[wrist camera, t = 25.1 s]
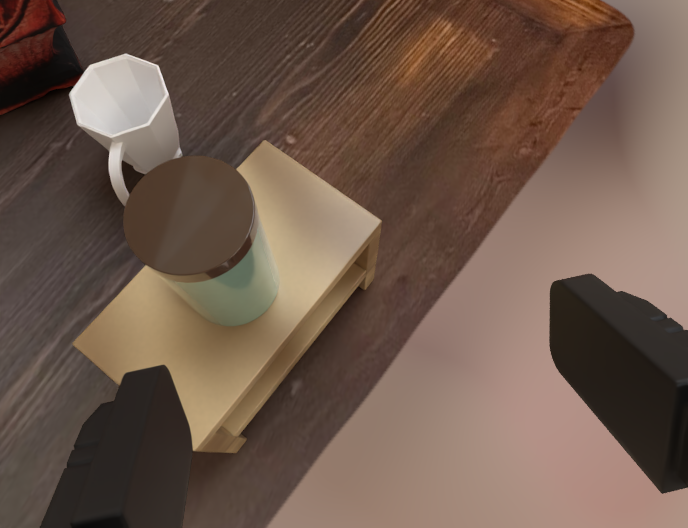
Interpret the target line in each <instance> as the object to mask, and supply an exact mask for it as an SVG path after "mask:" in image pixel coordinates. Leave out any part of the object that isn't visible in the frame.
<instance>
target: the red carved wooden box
mask: <svg viewBox="0 0 688 528" xmlns="http://www.w3.org/2000/svg"><path fill="white" fill-rule="evenodd" d="M65 22H66V19H65V16H64V14H63V12H62V10H61V8H60V6H59V4H58V2H57V0H0V115H2V114H5V113H7V112H9V111H11V110H14V109H16V108H18V107H21V106H23V105H25V104H27V103H29V102H31V101H33V100H35V99H38V98H41V97H43V96H44V95H45V94H47V93H48V92H49V91H51V90H54V89H60V88H67V87H70V86H75V85H76V83H77V82H78V80H79V79H80V78H81V76H82V75H83V73H84V71H83V69H82V67H81V64H80V62H79V60H78V58H77V56H76V54H75V52H74V50H73V48H72V46H71V44H70V42H69V40H68V38H67V35H66V33H65V31H64V29H63V27H62V24H64V23H65Z"/></svg>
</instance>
